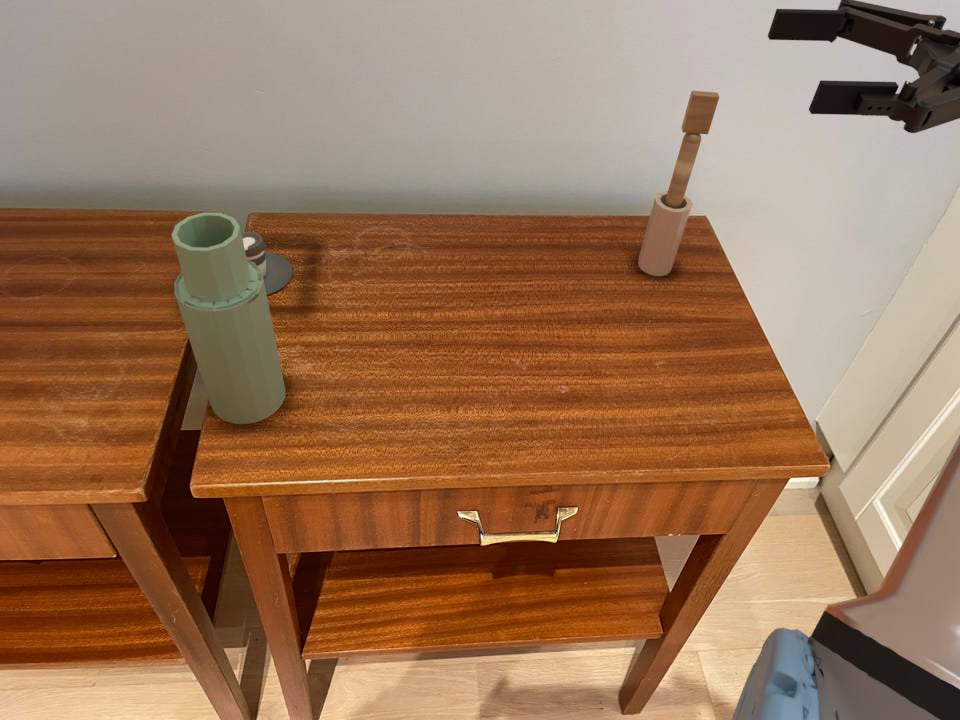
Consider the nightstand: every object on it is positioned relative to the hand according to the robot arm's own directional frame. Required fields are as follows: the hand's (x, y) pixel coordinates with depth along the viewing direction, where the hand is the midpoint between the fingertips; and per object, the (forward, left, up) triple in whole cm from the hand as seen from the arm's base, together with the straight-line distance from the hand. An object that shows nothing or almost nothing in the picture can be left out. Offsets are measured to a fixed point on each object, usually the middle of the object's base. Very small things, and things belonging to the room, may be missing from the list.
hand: (792, 58), depth 67 cm
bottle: (-42, +33, -26) cm, 60 cm away
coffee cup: (-28, +44, -26) cm, 59 cm away
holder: (-2, +6, -26) cm, 27 cm away
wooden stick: (-2, +6, -25) cm, 26 cm away
